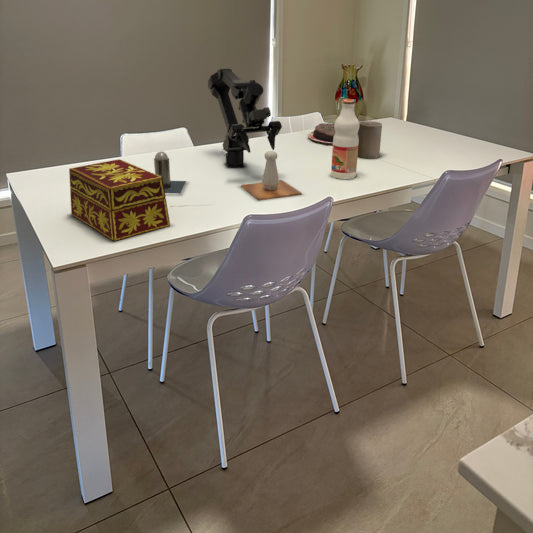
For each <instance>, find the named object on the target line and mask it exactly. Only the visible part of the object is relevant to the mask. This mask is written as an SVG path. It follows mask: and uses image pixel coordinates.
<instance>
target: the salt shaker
mask: <svg viewBox="0 0 533 533" xmlns="http://www.w3.org/2000/svg"><path fill="white" fill-rule="evenodd" d="M264 159H265V160H266V161H265V166H264V171H263V175H262V181H261V183H262V184H263V186H264V188H265V190H269V191H270V190H275V189H277V186H278V184H279V180H280V179H279V174H278V172H279V171H278V168H277V166H278V165H277V159H278V153H277V152H276V151H274V150H269V151H268V150H267V151H266V152H265V153H264Z"/></svg>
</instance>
